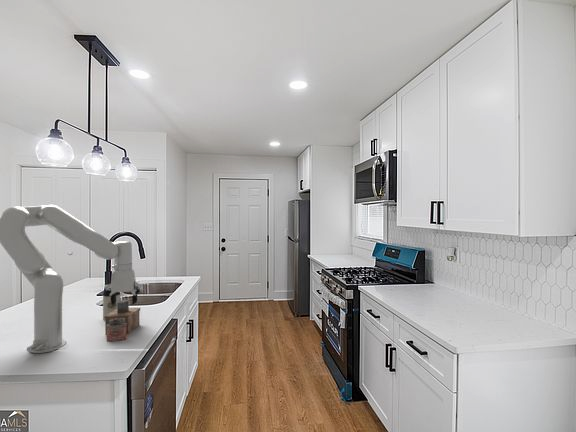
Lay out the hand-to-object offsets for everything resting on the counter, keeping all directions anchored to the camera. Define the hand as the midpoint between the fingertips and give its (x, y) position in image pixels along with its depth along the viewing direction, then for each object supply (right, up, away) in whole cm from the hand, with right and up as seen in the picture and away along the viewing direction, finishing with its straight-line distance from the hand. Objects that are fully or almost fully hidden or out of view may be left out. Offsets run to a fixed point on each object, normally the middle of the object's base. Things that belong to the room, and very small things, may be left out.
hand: (124, 303), depth 161 cm
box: (0, -13, 0) cm, 13 cm away
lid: (0, -5, 0) cm, 5 cm away
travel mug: (-15, -13, +17) cm, 26 cm away
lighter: (+3, -13, -13) cm, 19 cm away
